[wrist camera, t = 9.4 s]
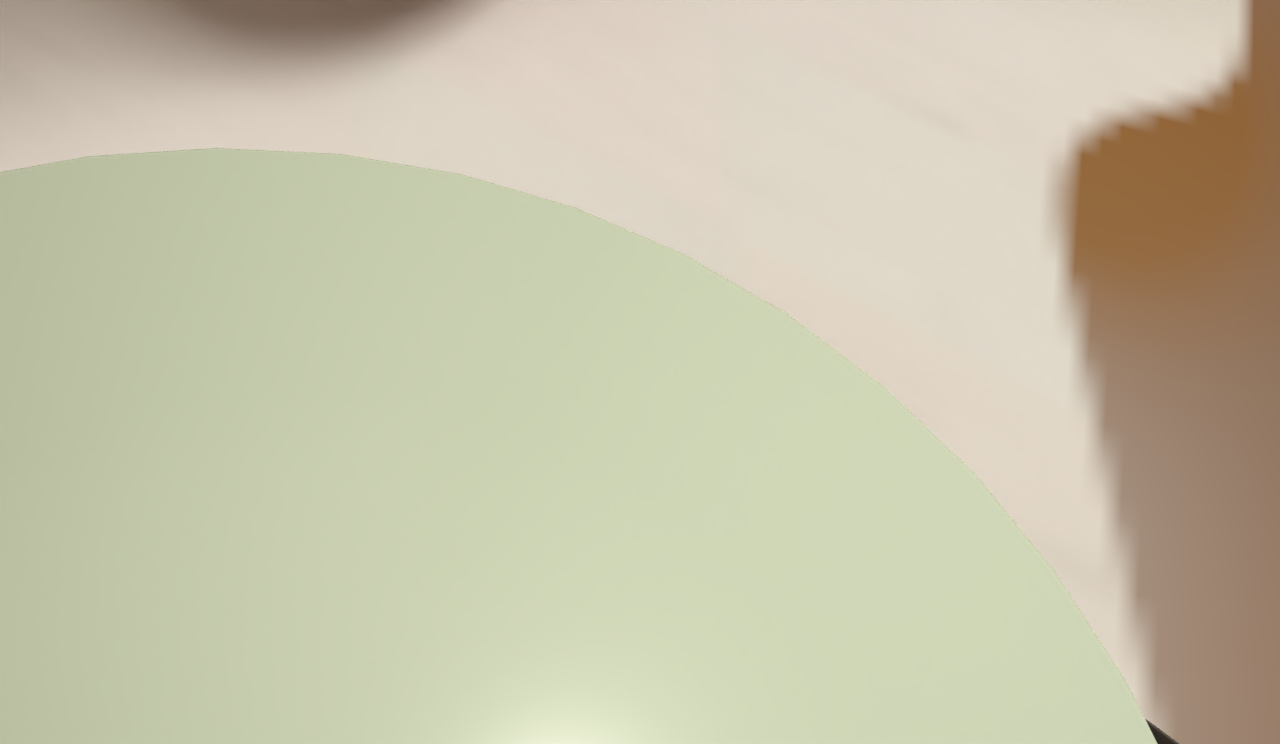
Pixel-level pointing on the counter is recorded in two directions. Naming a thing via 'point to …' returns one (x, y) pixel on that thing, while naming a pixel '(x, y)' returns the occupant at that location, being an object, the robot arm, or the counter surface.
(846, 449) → the candle
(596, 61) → the counter surface
